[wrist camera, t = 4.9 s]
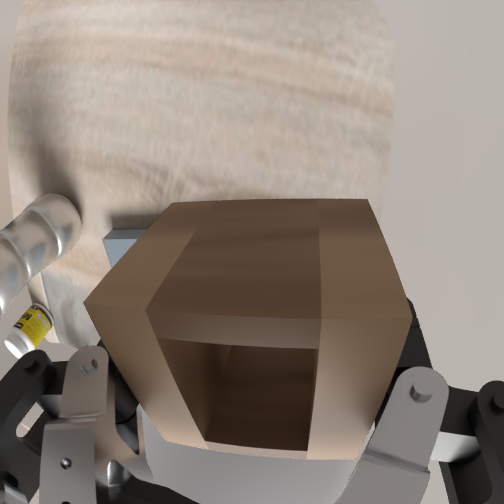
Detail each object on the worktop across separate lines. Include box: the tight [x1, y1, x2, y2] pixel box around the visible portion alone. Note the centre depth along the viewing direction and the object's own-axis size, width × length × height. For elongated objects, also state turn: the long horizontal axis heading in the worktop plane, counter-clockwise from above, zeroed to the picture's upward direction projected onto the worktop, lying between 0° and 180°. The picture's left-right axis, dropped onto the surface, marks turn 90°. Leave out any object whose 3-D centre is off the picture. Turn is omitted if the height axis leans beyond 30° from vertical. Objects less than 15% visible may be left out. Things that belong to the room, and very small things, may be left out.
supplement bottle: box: [5, 303, 54, 359], centre depth 36 cm, size 5×5×8 cm
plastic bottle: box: [0, 193, 81, 318], centre depth 21 cm, size 6×7×20 cm
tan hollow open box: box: [83, 199, 413, 459], centre depth 9 cm, size 6×6×5 cm
